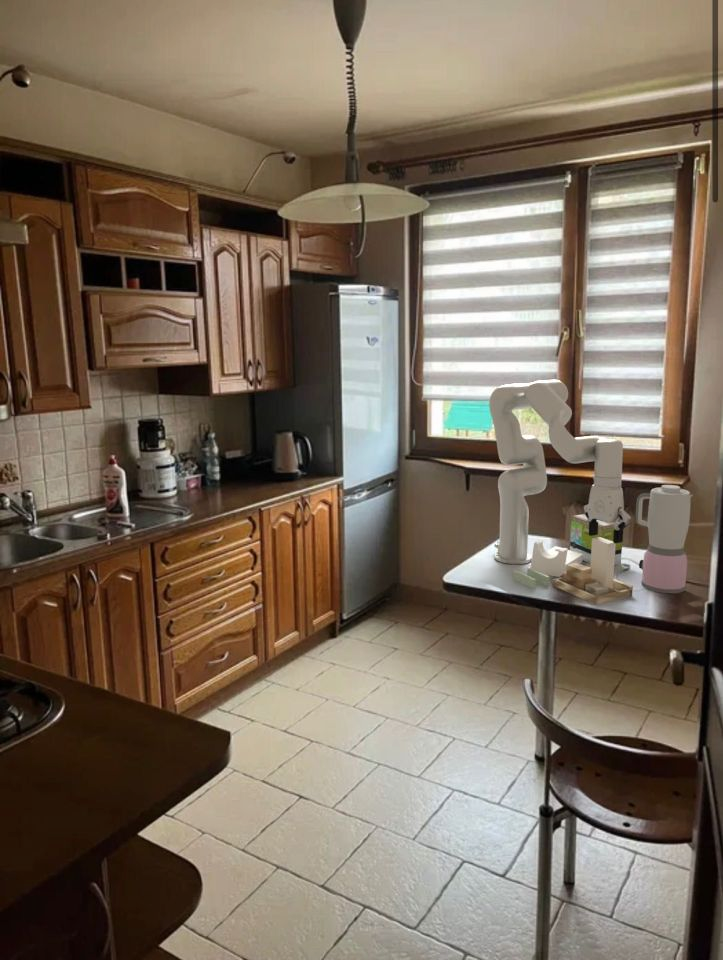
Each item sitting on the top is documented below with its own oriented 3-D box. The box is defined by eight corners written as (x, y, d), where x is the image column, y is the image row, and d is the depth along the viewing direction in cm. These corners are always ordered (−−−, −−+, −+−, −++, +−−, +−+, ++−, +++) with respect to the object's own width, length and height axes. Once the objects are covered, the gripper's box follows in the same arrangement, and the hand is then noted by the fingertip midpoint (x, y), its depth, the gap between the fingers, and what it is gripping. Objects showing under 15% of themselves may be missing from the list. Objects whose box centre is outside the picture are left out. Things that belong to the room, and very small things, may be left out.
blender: (690, 588, 216) (699, 485, 209) (678, 600, 207) (687, 493, 200) (638, 578, 226) (644, 479, 219) (624, 588, 217) (631, 486, 210)
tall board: (589, 585, 216) (592, 538, 213) (596, 584, 217) (599, 537, 214) (605, 592, 210) (608, 543, 207) (612, 590, 212) (615, 542, 209)
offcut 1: (566, 574, 214) (566, 565, 214) (574, 572, 216) (575, 562, 216) (582, 580, 209) (583, 570, 209) (591, 577, 212) (591, 567, 211)
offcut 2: (561, 585, 217) (562, 572, 216) (573, 582, 219) (573, 570, 218) (583, 594, 209) (583, 581, 208) (594, 592, 211) (595, 579, 210)
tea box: (568, 555, 249) (570, 514, 246) (590, 552, 253) (592, 511, 250) (599, 568, 236) (601, 525, 233) (622, 564, 240) (624, 521, 237)
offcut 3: (584, 595, 208) (585, 584, 207) (596, 593, 209) (596, 582, 209) (596, 601, 203) (597, 590, 203) (607, 599, 205) (608, 588, 204)
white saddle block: (558, 582, 224) (563, 551, 222) (529, 573, 230) (534, 543, 228) (581, 567, 238) (585, 538, 235) (553, 559, 244) (557, 530, 241)
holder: (510, 583, 222) (511, 571, 222) (530, 579, 226) (531, 567, 225) (531, 593, 214) (532, 580, 213) (552, 588, 217) (552, 576, 216)
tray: (552, 588, 217) (552, 575, 216) (586, 581, 223) (587, 568, 222) (595, 608, 201) (596, 594, 200) (631, 600, 207) (632, 586, 207)
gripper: (576, 478, 213) (574, 534, 216) (621, 488, 198) (618, 547, 201) (595, 476, 216) (593, 530, 219) (640, 485, 201) (637, 543, 204)
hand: (605, 538), depth 210 cm, fingers open, 9 cm apart
